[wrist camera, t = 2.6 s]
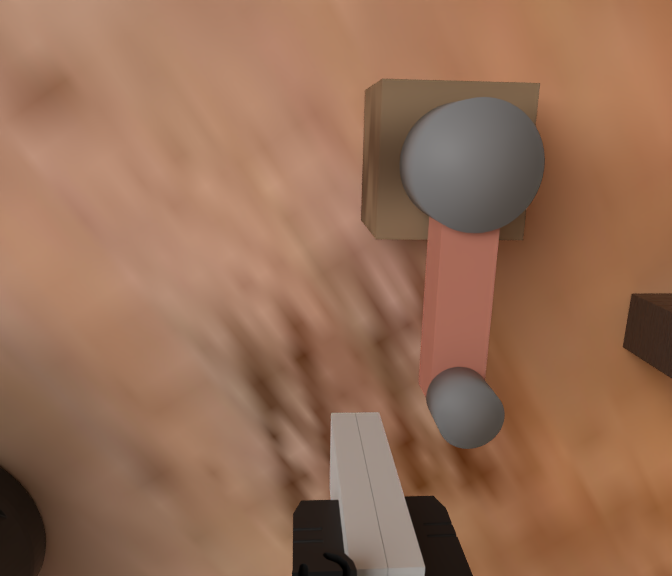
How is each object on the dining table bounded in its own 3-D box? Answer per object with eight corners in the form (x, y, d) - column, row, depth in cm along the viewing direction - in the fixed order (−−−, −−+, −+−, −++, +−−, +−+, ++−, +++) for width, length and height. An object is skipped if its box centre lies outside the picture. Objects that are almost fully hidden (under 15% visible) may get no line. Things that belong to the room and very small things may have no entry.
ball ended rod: (402, 100, 27) (427, 91, 22) (521, 103, 28) (572, 95, 23) (388, 398, 32) (406, 449, 26) (491, 396, 32) (529, 447, 27)
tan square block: (481, 221, 37) (522, 240, 30) (361, 220, 36) (376, 239, 29) (492, 93, 35) (540, 83, 28) (365, 90, 34) (382, 78, 27)
